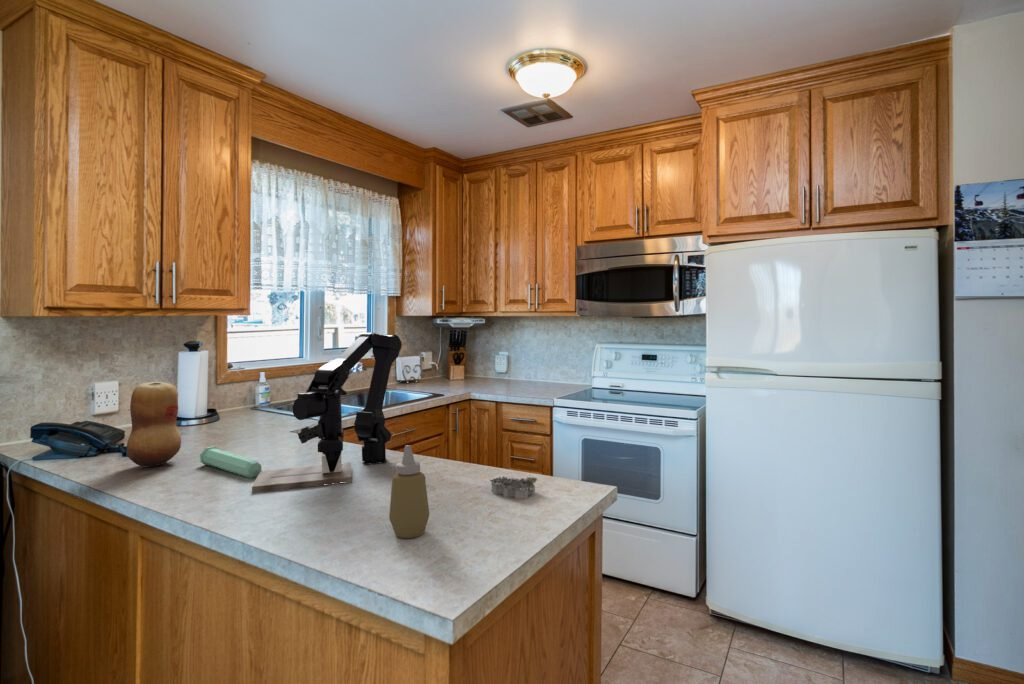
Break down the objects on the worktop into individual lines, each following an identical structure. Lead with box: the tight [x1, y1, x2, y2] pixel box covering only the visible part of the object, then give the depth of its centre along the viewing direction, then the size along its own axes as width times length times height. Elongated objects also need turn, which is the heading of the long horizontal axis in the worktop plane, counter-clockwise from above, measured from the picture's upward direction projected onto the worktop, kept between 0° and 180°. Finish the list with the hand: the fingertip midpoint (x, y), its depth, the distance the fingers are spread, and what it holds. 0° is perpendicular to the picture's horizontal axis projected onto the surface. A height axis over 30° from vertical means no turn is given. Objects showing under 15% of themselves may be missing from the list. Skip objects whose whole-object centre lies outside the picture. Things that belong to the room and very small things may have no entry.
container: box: [199, 445, 263, 479], centre depth 152 cm, size 6×6×25 cm
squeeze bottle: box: [388, 444, 430, 539], centre depth 106 cm, size 8×8×18 cm
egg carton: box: [489, 476, 538, 501], centre depth 130 cm, size 11×8×4 cm
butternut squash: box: [126, 381, 182, 467], centre depth 158 cm, size 14×13×25 cm
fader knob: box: [321, 452, 343, 473], centre depth 145 cm, size 5×4×5 cm
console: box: [251, 462, 352, 493], centre depth 143 cm, size 24×14×2 cm, turn 107°
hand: (332, 469), depth 145 cm, fingers closed on fader knob, 4 cm apart
